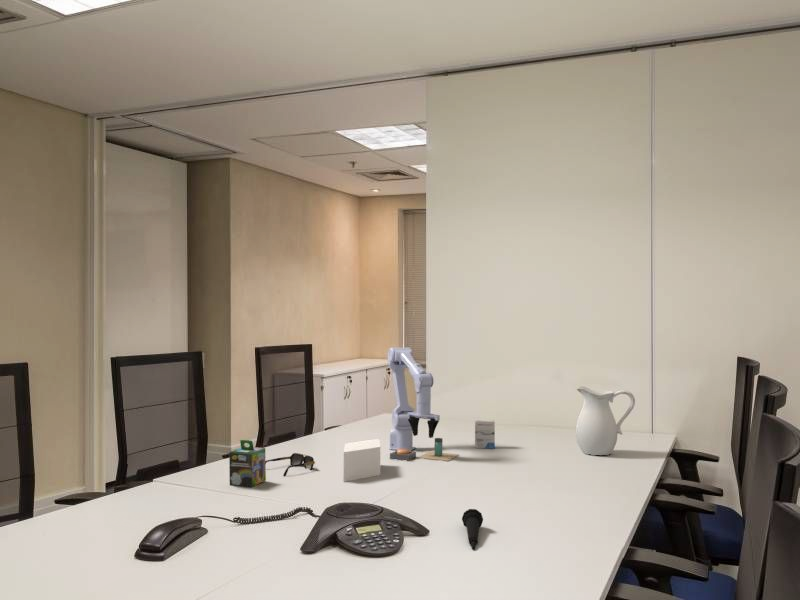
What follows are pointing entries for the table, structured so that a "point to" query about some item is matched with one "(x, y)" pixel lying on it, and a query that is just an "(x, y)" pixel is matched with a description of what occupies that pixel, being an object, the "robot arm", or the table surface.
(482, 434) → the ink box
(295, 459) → the sunglasses
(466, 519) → the microphone
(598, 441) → the pitcher
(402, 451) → the button
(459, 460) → the table surface
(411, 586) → the table surface
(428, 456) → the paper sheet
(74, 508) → the table surface
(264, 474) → the chalk box
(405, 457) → the button frame
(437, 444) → the cylindrical container
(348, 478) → the white rectangular block
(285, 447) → the table surface
